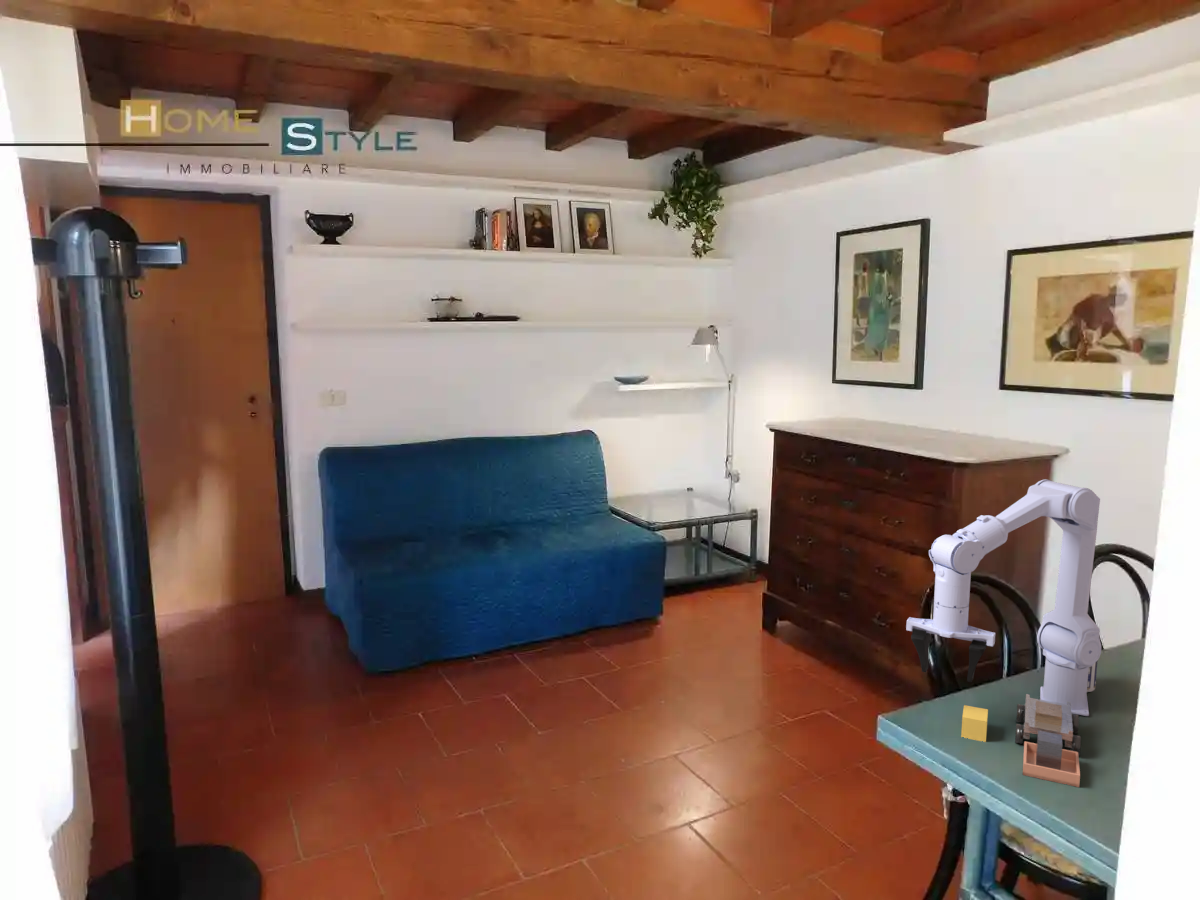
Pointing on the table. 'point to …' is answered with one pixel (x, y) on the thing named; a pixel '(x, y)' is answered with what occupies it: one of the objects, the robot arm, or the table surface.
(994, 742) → the table surface
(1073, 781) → the tray
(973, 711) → the chock
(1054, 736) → the grey matte cube
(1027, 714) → the trolley
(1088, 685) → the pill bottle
